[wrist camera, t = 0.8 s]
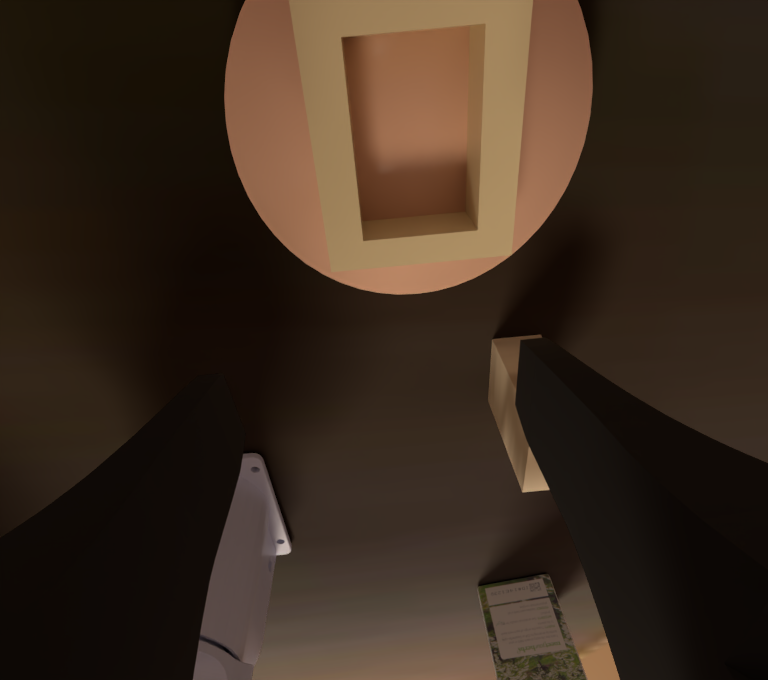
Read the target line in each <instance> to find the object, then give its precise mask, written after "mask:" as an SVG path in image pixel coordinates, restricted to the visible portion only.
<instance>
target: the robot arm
mask: <svg viewBox="0 0 768 680" xmlns="http://www.w3.org/2000/svg"><path fill="white" fill-rule="evenodd" d="M515 406H516V409H517V413H518V416H519V419H520V422H521V425H522V428H523V431H524V434H525V437H526V440H527V443H528V445H529V447H530V449H531V451H532V453H533V455H534V458H535V460H536V462H537V464H538V466H539V468H540V470H541V472H542V474H543V477H544V479H545V481H546V483H547V485H548V487H549V489H550V491H551V493H552V495H553V497H554V500H555V502H556V504H557V506H558V508H559V510H560V512H561V514H562V516H563V518H564V520H565V523H566V525H567V527H568V530H569V532H570V534H571V537H572V539H573V541H574V544H575V547H576V550H577V552H578V555H579V558H580V561H581V563H582V566H583V569H584V572H585V575H586V577H587V580H588V583H589V586H590V589H591V592H592V595H593V598H594V600H595V603H596V606H597V609H598V612H599V615H600V618H601V621H602V624H603V627H604V630H605V633H606V636H607V639H608V643H609V646H610V649H611V652H612V655H613V658H614V661H615V665H616V667H617V671H618V674H619V677H620V680H768V463H766V462H764V461H761V460H759V459H757V458H754V457H752V456H750V455H747V454H745V453H743V452H740V451H738V450H736V449H733V448H731V447H729V446H727V445H725V444H723V443H720V442H718V441H716V440H714V439H712V438H710V437H708V436H706V435H704V434H702V433H700V432H698V431H696V430H694V429H692V428H690V427H688V426H686V425H684V424H682V423H680V422H678V421H676V420H674V419H673V418H671V417H669V416H667V415H665V414H663V413H662V412H660V411H658V410H656V409H655V408H653V407H651V406H650V405H648V404H646V403H645V402H643V401H641V400H639V399H638V398H636V397H634V396H633V395H631V394H630V393H628V392H626V391H625V390H623V389H622V388H620V387H618V386H617V385H615V384H614V383H612V382H611V381H609V380H608V379H606V378H605V377H603V376H602V375H600V374H599V373H597V372H596V371H594V370H593V369H591V368H590V367H588V366H587V365H586V364H584V363H583V362H581V361H580V360H578V359H577V358H576V357H574V356H573V355H571V354H570V353H568V352H567V351H566V350H564V349H563V348H561V347H560V346H558V345H557V344H556V343H554V342H553V341H551V340H549V339H548V338H546V337H543V338H534V339H525V340H520V350H519V362H518V374H517V386H516V398H515ZM245 436H246V433H245V431H244V428H243V425H242V423H241V420H240V417H239V415H238V412H237V409H236V407H235V404H234V401H233V399H232V396H231V393H230V391H229V388H228V385H227V383H226V380H225V377H224V375H223V373H219V374H210V375H201V376H197V377H196V378H195V379H194V380H193V381H191V382H190V383H189V384H188V385H187V386H186V387H185V388H184V389H183V390H182V391H180V392H179V393H178V394H177V395H176V396H175V397H174V398H173V399H172V400H171V401H170V402H169V403H168V404H167V405H166V406H165V407H164V408H163V409H162V410H161V411H159V412H158V413H157V414H156V415H155V416H154V417H153V418H152V419H151V420H150V421H149V422H148V423H147V424H146V425H145V426H144V427H142V428H141V429H140V430H139V431H138V432H137V433H136V434H135V435H134V436H133V437H132V438H131V439H129V440H128V441H127V442H126V443H125V444H124V445H122V446H121V447H120V448H119V449H118V450H117V451H116V452H114V453H113V454H112V455H111V456H110V457H109V458H108V459H106V460H105V461H104V462H103V463H102V464H101V465H100V466H98V467H97V468H96V469H95V470H94V471H92V472H91V473H90V474H89V475H88V476H86V477H85V478H84V479H83V480H81V481H80V482H79V483H77V484H76V485H75V486H74V487H72V488H71V489H70V490H68V491H67V492H66V493H64V494H63V495H62V496H60V497H59V498H58V499H56V500H55V501H54V502H52V503H51V504H50V505H48V506H47V507H46V508H44V509H43V510H41V511H40V512H39V513H37V514H36V515H34V516H33V517H31V518H30V519H28V520H27V521H25V522H24V523H22V524H21V525H19V526H18V527H16V528H15V529H13V530H12V531H10V532H9V533H7V534H6V535H4V536H3V537H1V538H0V680H252V674H253V668H254V665H255V663H256V661H257V659H258V657H259V654H260V651H261V648H262V643H263V637H264V631H265V624H266V618H267V612H268V605H269V599H270V592H271V586H272V579H273V573H274V567H275V560H276V555H283V554H288V553H290V552H291V548H292V544H291V541H290V538H289V535H288V532H287V529H286V526H285V523H284V520H283V517H282V514H281V511H280V508H279V505H278V502H277V499H276V496H275V493H274V490H273V487H272V484H271V481H270V478H269V475H268V472H267V469H266V466H265V463H264V460H263V458H262V456H261V455H259V454H257V453H248V454H243V451H244V443H245ZM256 467H258V468H256Z"/></svg>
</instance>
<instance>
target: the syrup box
mask: <svg viewBox="0 0 768 680" xmlns="http://www.w3.org/2000/svg"><path fill="white" fill-rule="evenodd" d="M477 590H478V595H479V599H480V604H481V609H482V613H483V618H484V623H485V627H486V632H487V637H488V642H489V646H490V650H491V655H492V659H493V664H494V668H495V673H496V677H497V680H587V677H586V675H585V672H584V669H583V666H582V663H581V661H580V658H579V655H578V652H577V650H576V647H575V644H574V641H573V639H572V636H571V633H570V631H569V628H568V625H567V622H566V620H565V617H564V614H563V611H562V609H561V606H560V603H559V600H558V598H557V595H556V592H555V589H554V587H553V584H552V581H551V579H550V576H549V575H548V574H543V575H537V576H532V577H526V578H521V579H515V580H510V581H504V582H499V583H494V584H488V585H483V586H479V587H478V588H477Z"/></svg>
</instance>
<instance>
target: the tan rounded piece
mask: <svg viewBox="0 0 768 680" xmlns="http://www.w3.org/2000/svg"><path fill="white" fill-rule="evenodd" d="M592 91H593V83H592V58H591V51H590V44H589V37H588V32H587V29H586V25H585V21H584V18H583V14H582V10H581V7H580V5H579V2H578V0H245V2H244V5H243V7H242V9H241V11H240V14H239V17H238V20H237V23H236V26H235V29H234V33H233V36H232V39H231V43H230V49H229V55H228V60H227V66H226V76H225V94H224V100H225V115H226V127H227V132H228V137H229V143H230V148H231V152H232V155H233V159H234V162H235V165H236V168H237V171H238V175H239V177H240V179H241V181H242V184H243V186H244V188H245V190H246V192H247V195H248V197H249V199H250V200H251V202H252V204H253V205H254V207H255V209H256V210H257V212H258V214H259V215H260V217H261V218H262V220H263V221H264V222H265V224H266V225H267V226H268V227H269V229H270V230H271V231H272V233H273V234H274V235H275V236H276V237H277V238H278V239H279V240H280V241H281V242H282V243H283V244H284V245H285V246H286V247H287V248H288V249H289V250H290V251H291V252H292V253H293V254H295V255H296V256H297V257H298V258H300V259H301V260H302V261H303V262H304V263H306V264H307V265H309V266H311V267H312V268H314V269H315V270H317V271H319V272H320V273H322V274H323V275H326V276H328V277H330V278H332V279H334V280H336V281H338V282H340V283H343V284H346V285H349V286H352V287H355V288H358V289H362V290H367V291H372V292H377V293H387V294H419V293H425V292H432V291H437V290H441V289H445V288H448V287H452V286H456V285H458V284H461V283H463V282H466V281H468V280H471V279H473V278H475V277H477V276H479V275H481V274H483V273H485V272H486V271H488V270H490V269H492V268H493V267H495V266H496V265H498V264H499V263H501V262H502V261H504V260H505V259H507V258H508V257H509V256H511V255H512V254H513V253H514V252H515V251H516V250H518V249H519V248H520V247H521V246H522V245H523V244H525V243H526V242H527V240H528V239H529V238H530V237H531V236H532V235H533V234H534V233H535V232H536V231H537V230H538V229H539V228H540V227H541V225H542V224H543V223H544V221H545V220H546V219H547V217H548V216H549V215H550V213H551V212H552V211H553V209H554V208H555V206H556V205H557V203H558V201H559V200H560V198H561V196H562V195H563V193H564V191H565V190H566V188H567V186H568V183H569V181H570V179H571V177H572V175H573V173H574V170H575V168H576V166H577V163H578V160H579V157H580V154H581V151H582V148H583V145H584V142H585V138H586V133H587V128H588V124H589V119H590V112H591V101H592Z"/></svg>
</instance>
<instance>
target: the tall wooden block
mask: <svg viewBox="0 0 768 680" xmlns="http://www.w3.org/2000/svg"><path fill="white" fill-rule="evenodd" d="M534 338H542V336H541V335H531V336H520V337H509V338H499V339H492V350H491V365H490V380H489V396H488V401H489V404H490V407H491V409H492V412H493V415H494V417H495V420H496V423H497V425H498V428H499V431H500V433H501V436H502V439H503V441H504V444H505V447H506V450H507V452H508V455H509V458H510V460H511V463H512V466H513V468H514V471H515V474H516V476H517V479H518V482H519V484H520V487H521V490H522V492H531V491H542V490H550V489H549V487H548V485H547V483H546V481H545V479H544V477H543V474H542V472H541V470H540V468H539V466H538V464H537V462H536V460H535V458H534V455H533V453H532V451H531V449H530V447H529V445H528V443H527V440H526V437H525V434H524V431H523V428H522V425H521V422H520V419H519V416H518V413H517V409H516V406H515V398H516V386H517V374H518V362H519V350H520V340H525V339H534Z"/></svg>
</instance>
